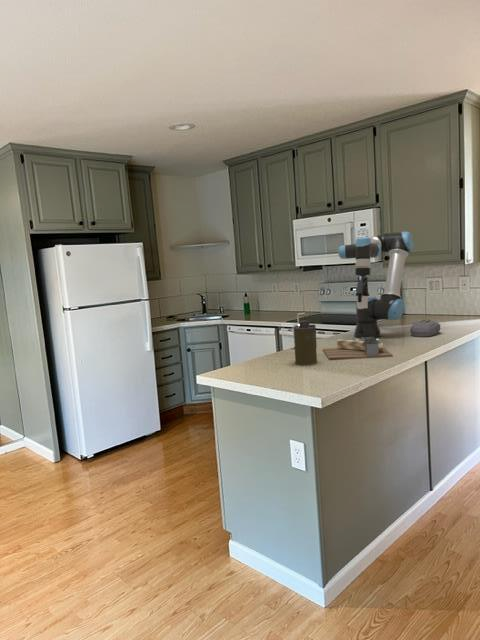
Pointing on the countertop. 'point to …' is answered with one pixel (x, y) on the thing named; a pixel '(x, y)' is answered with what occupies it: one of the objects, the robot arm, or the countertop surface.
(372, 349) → the block
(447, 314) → the countertop surface
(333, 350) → the base plate
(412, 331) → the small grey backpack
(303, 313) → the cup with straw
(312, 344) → the canister
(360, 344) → the link
